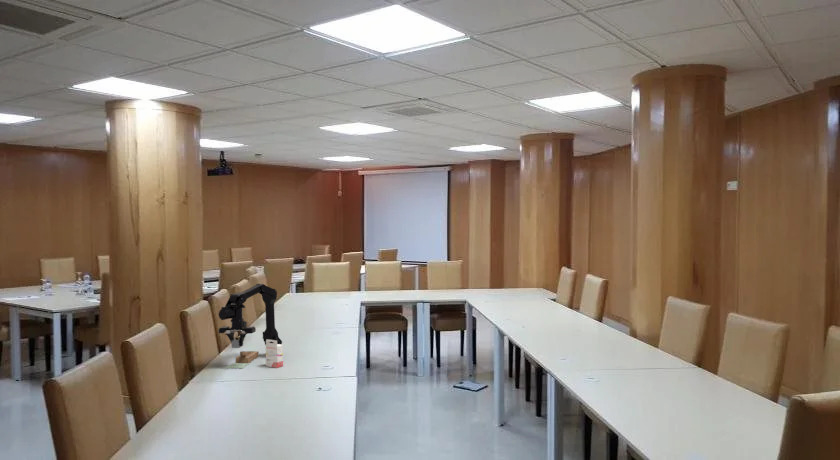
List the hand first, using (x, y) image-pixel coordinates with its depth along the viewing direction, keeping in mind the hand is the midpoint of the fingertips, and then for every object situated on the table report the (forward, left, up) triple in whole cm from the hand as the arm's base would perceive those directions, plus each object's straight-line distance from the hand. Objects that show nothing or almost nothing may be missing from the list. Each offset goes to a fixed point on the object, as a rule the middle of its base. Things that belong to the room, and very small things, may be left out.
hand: (237, 345), depth 310 cm
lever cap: (0, 0, -1) cm, 1 cm away
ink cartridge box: (-20, -2, -12) cm, 23 cm away
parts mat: (0, 0, -11) cm, 11 cm away
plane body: (0, -14, -11) cm, 18 cm away
